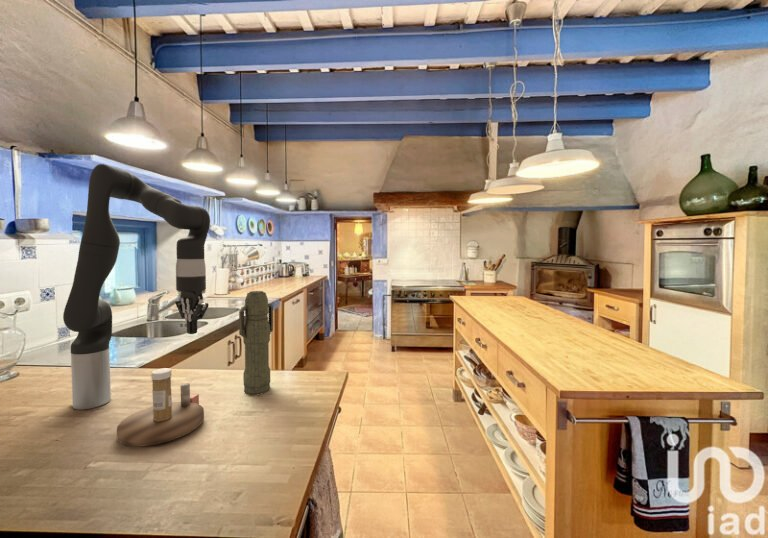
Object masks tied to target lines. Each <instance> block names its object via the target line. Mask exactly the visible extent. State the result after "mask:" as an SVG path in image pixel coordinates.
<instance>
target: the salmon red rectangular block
mask: <svg viewBox="0 0 768 538" xmlns="http://www.w3.org/2000/svg"><path fill="white" fill-rule="evenodd" d="M199 394H200V393H199ZM199 394H197V393H195V394H194V395H192V396H190V402H192V403H196V404H199V405H200V395H199Z"/></svg>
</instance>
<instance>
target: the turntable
mask: <svg viewBox="0 0 768 538" xmlns="http://www.w3.org/2000/svg"><path fill="white" fill-rule="evenodd" d="M190 385H191V384H190V383H187V382H186V383H182V384H180V401H175V402H173V401H172V417H171V418H169V419H167V420H165V421H159V422H157V421H154V420H153V406H150V407H146V408H144V409H141V410H139V411H136V412H134V413H132V414H131V415H129V416H126V418H124V419H123V420H121V421H120V422H119V424H118V425H117V427H116V440H117V441H118V442H119V443H120V444H122V445H125V446H129V447H130V446H131V447H146V446H154V445H159V444H163V443H167V442H171V441H173V440H176V439H178V438H181V437H183V436H185V435H188V434H190V433H191V432H193V431H195V430H196V429H197V428H199V426H201V424H202V423H203V422H204V419H205V409H204V407H203V406H202V405H200V403H199V404H196V403H192V402H190V397H191V386H190Z"/></svg>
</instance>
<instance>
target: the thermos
mask: <svg viewBox="0 0 768 538" xmlns="http://www.w3.org/2000/svg"><path fill="white" fill-rule="evenodd" d="M238 316H239V318H238V323H239V324H238V325H239V326H238V328H239V330H238V331H239V333H238V334H239V336H241V337H242V338H243V341H242V342H243V345H244V371H243V375H242V376H243V377H242V379H243V392H245V393H246V395H248V394H249V395H250V396H258V395H257V394H259V395H262V394H261V393H263V394H265V393H267V392H269V391H270V390H271V389H270V388H271V385H270V384H271V368H270V365H269V364H270V363H269V360H270V359H269V352H270V351H269V348H270V347H269V346H270V345H269V344H270V342H271V334H272V333H273V331H274V307H273V305H272V303H269V299H268V296H267V293H266V292H265V291H262V290H254V291H253V290H252V291H249V292H248V293H247V294H246V296H245V299H244V306H241V308H240V309H239V311H238ZM269 389H270V390H269ZM245 393H244V394H245ZM249 395H248V396H249Z"/></svg>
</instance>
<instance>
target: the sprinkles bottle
mask: <svg viewBox="0 0 768 538" xmlns="http://www.w3.org/2000/svg"><path fill="white" fill-rule="evenodd" d="M171 378H172V369H171V368H170V367H169V368H166V367H163V368H158V369H155V370H153V371H152V372H151V381H152V390H151V392H152V407H153V420H154V421H157V422H159V421H165V420H167V419H169V418H171V417H172V403H173V401H172V384H171V383H172V379H171Z"/></svg>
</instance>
